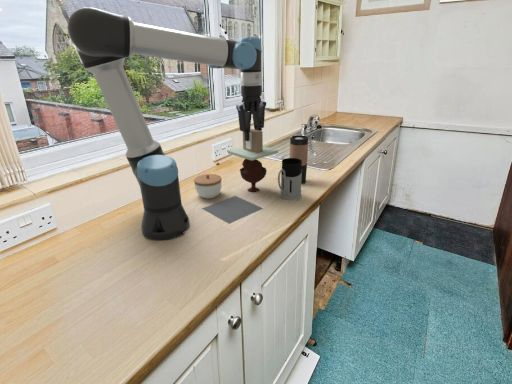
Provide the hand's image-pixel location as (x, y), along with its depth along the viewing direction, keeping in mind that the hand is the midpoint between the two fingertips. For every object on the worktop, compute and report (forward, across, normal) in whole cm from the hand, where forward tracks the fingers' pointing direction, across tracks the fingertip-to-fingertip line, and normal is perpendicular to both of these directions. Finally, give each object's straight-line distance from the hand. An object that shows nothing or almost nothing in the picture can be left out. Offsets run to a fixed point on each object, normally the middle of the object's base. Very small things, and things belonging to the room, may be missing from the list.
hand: (252, 147), depth 123 cm
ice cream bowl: (+19, 0, 0) cm, 19 cm away
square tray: (+19, -17, -7) cm, 26 cm away
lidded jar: (+19, -16, +9) cm, 26 cm away
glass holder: (+19, +4, -15) cm, 25 cm away
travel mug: (+19, +21, -6) cm, 29 cm away
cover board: (+2, 0, 0) cm, 2 cm away
